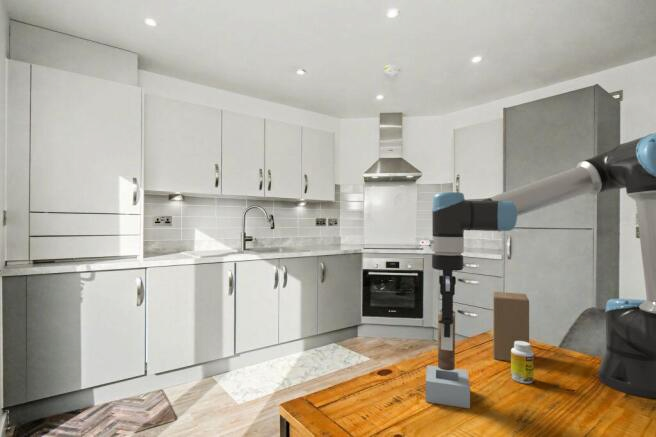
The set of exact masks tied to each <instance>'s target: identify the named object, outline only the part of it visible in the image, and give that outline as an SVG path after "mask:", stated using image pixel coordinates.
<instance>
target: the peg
mask: <svg viewBox="0 0 656 437" xmlns="http://www.w3.org/2000/svg"><path fill="white" fill-rule="evenodd" d="M437 312H438V313H437V314H438V316H437V317H438V320H437V322H438V324H437V327H438V329H437V330H438V332H437V334H438V336H437V338H438V339H437V340H438V342H437V367H439V368H440V369H442V370H447V371H451V370H454V369H456V367H455V366H456V364H455V363H456V360H455V359H456V311H454V310H453V351H451V350H442V349H441V323H439V320H440V321H441V319H442V310H441V309H438V311H437Z"/></svg>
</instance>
